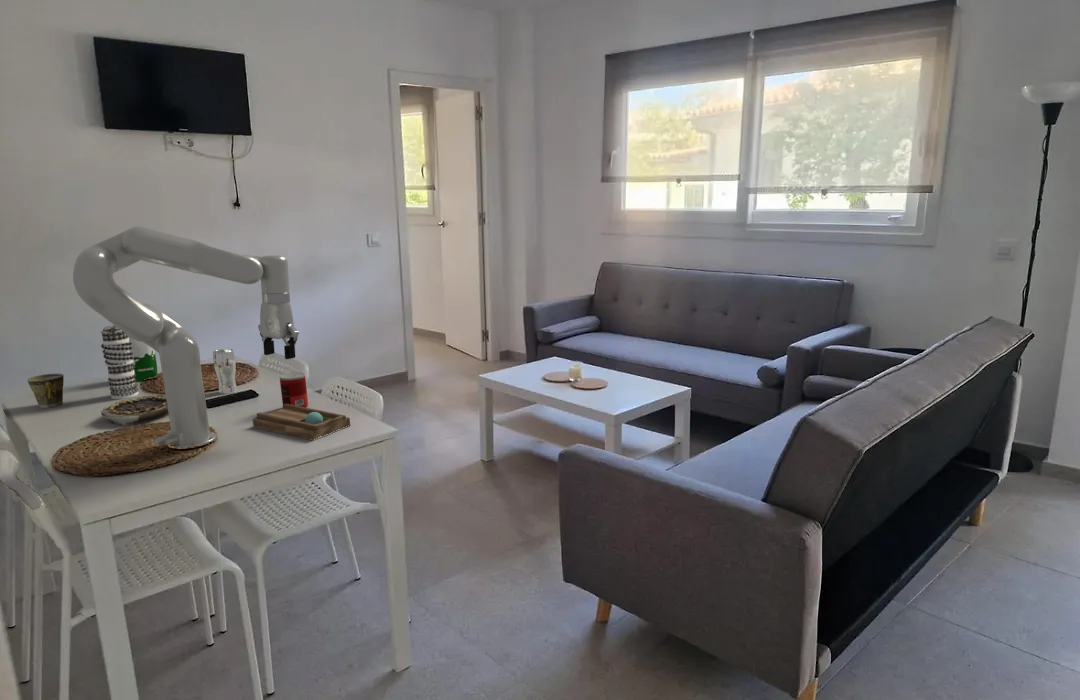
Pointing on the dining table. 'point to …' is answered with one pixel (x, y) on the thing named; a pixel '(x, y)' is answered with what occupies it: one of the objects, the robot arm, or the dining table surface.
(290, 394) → the canned food
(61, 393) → the ceramic cup
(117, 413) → the pie
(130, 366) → the decorative candle
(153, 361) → the milk carton
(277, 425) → the track board
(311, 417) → the ball
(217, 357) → the beer glass
